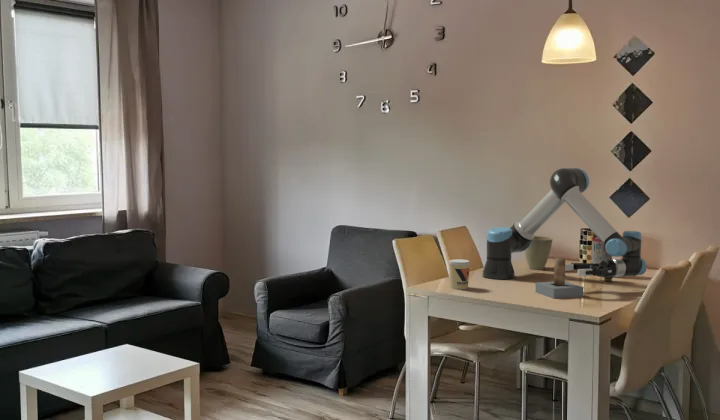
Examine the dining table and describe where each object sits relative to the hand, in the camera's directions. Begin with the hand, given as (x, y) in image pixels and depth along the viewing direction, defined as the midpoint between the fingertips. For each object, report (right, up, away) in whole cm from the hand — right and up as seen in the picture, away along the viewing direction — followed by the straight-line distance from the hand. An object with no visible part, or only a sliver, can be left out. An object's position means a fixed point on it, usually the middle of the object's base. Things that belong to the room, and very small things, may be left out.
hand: (568, 270), depth 294 cm
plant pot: (+3, -5, +66) cm, 66 cm away
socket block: (-4, -10, 0) cm, 11 cm away
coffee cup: (-45, -9, +13) cm, 47 cm away
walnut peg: (-4, -9, 0) cm, 10 cm away
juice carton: (+30, -7, +47) cm, 56 cm away
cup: (+27, -8, +30) cm, 42 cm away
